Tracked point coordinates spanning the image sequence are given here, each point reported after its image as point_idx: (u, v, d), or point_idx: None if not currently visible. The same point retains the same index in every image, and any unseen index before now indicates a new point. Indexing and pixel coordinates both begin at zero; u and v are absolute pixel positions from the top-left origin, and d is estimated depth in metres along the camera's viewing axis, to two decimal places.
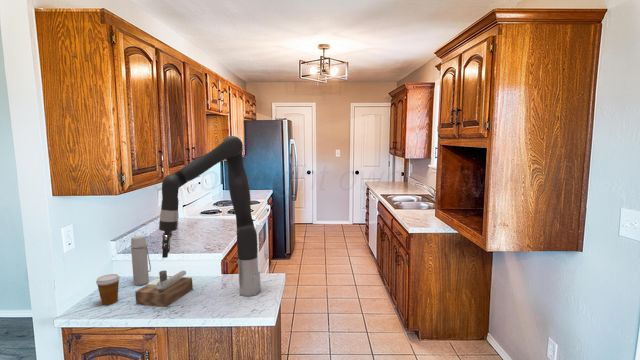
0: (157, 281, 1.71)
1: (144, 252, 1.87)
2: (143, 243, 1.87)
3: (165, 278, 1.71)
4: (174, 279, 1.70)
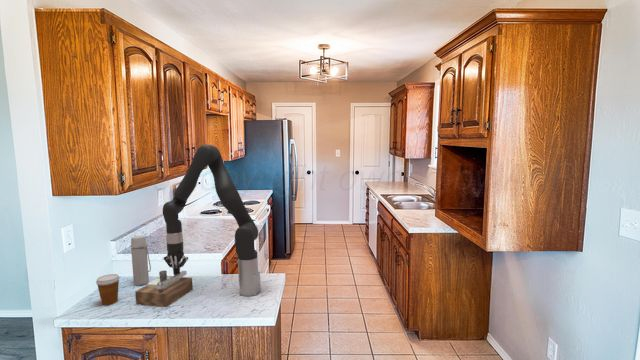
0: (157, 281, 1.71)
1: (144, 252, 1.87)
2: (143, 243, 1.87)
3: (165, 278, 1.71)
4: (174, 279, 1.70)
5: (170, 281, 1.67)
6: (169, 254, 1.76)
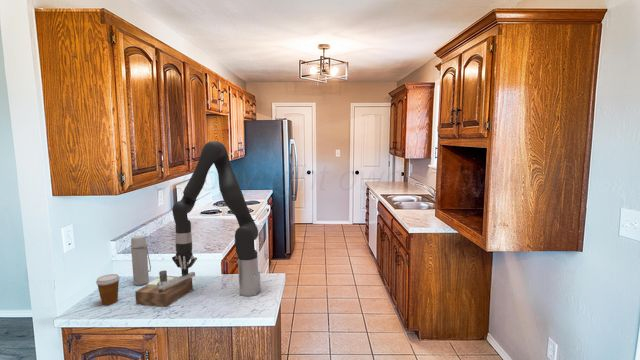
0: (157, 281, 1.71)
1: (144, 252, 1.87)
2: (143, 243, 1.87)
3: (165, 278, 1.71)
4: (178, 280, 1.69)
5: (172, 282, 1.66)
6: (178, 254, 1.74)
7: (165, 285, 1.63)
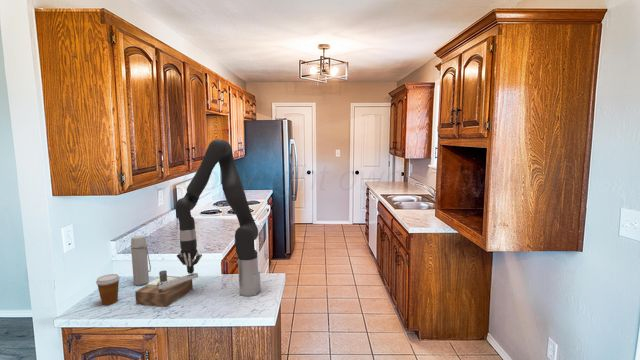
0: (157, 281, 1.71)
1: (144, 252, 1.87)
2: (143, 243, 1.87)
3: (165, 278, 1.71)
4: (179, 281, 1.68)
5: (173, 282, 1.66)
6: (182, 251, 1.74)
7: (165, 285, 1.63)
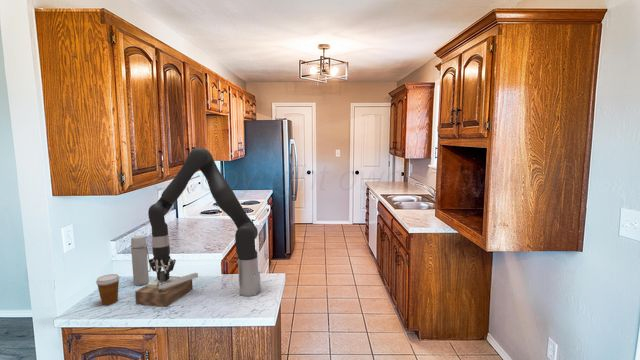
0: (157, 281, 1.71)
1: (144, 252, 1.87)
2: (143, 243, 1.87)
3: None
4: (179, 281, 1.68)
5: (173, 282, 1.66)
6: (155, 258, 1.71)
7: (165, 285, 1.63)
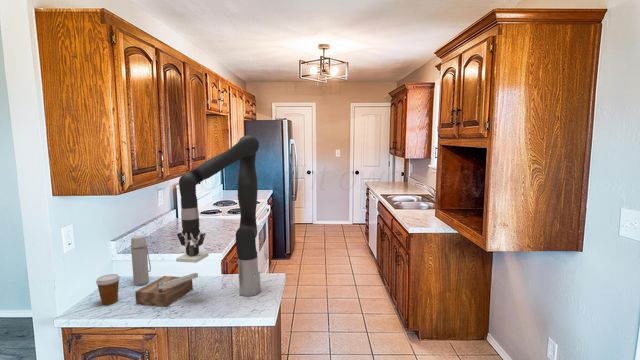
0: (186, 256, 1.64)
1: (144, 252, 1.87)
2: (143, 243, 1.87)
3: None
4: (179, 281, 1.68)
5: (173, 282, 1.66)
6: (184, 232, 1.63)
7: (165, 285, 1.63)
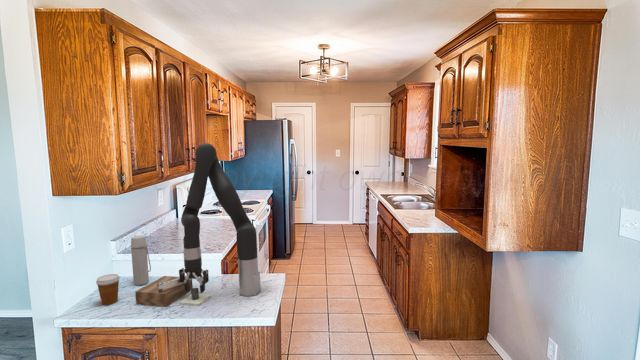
0: (189, 299, 1.66)
1: (144, 252, 1.87)
2: (143, 243, 1.87)
3: (197, 296, 1.65)
4: (179, 281, 1.68)
5: (173, 282, 1.66)
6: (187, 271, 1.65)
7: (165, 285, 1.63)
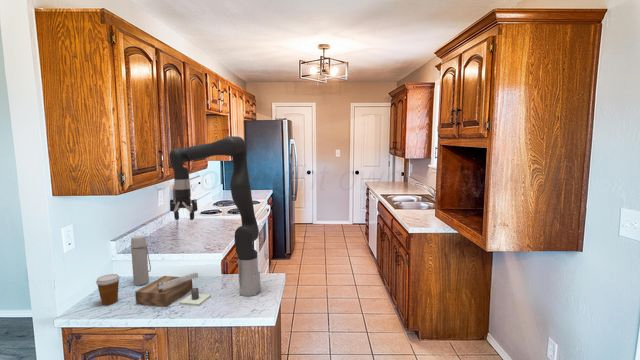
0: (189, 299, 1.66)
1: (144, 252, 1.87)
2: (143, 243, 1.87)
3: (197, 296, 1.65)
4: (179, 281, 1.68)
5: (173, 282, 1.66)
6: (177, 201, 1.82)
7: (165, 285, 1.63)
